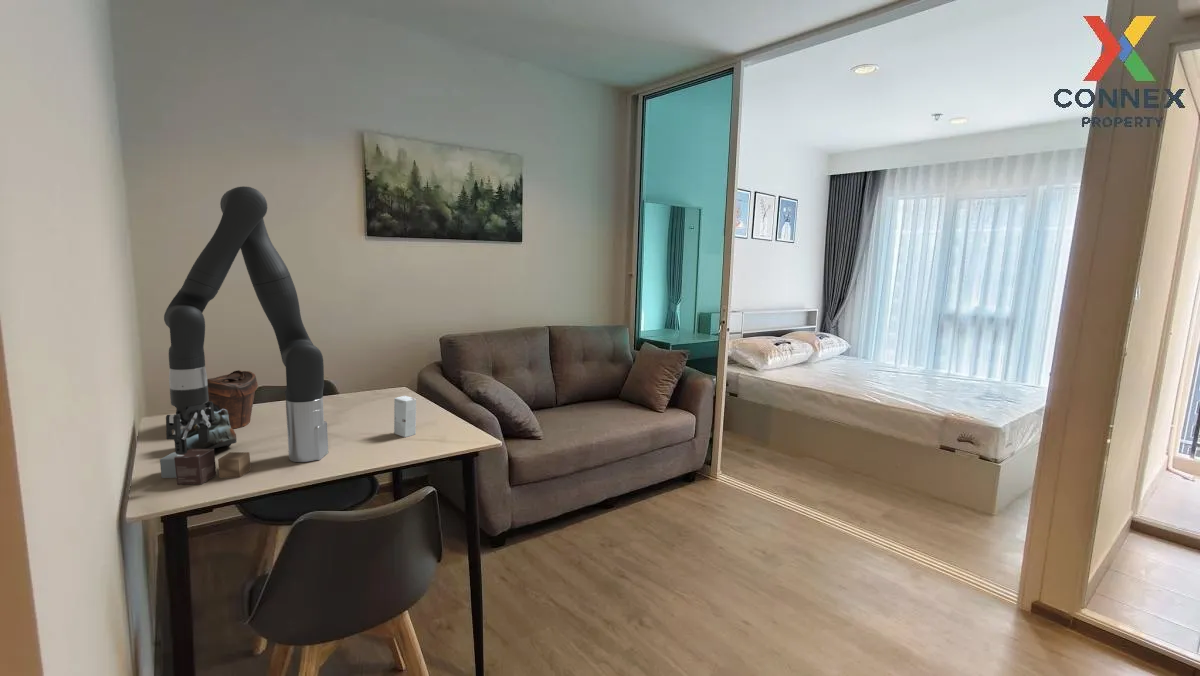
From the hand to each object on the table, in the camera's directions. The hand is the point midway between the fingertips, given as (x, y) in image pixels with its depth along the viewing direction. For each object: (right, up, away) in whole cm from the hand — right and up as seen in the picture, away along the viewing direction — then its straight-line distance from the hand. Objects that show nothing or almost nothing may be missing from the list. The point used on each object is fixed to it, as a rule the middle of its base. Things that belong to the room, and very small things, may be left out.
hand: (193, 447), depth 136 cm
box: (0, -9, +1) cm, 9 cm away
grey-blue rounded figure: (-12, -5, +20) cm, 24 cm away
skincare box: (+39, -4, +40) cm, 56 cm away
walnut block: (+7, -8, +6) cm, 12 cm away
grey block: (-7, -8, +5) cm, 12 cm away
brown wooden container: (-22, -1, +44) cm, 49 cm away
